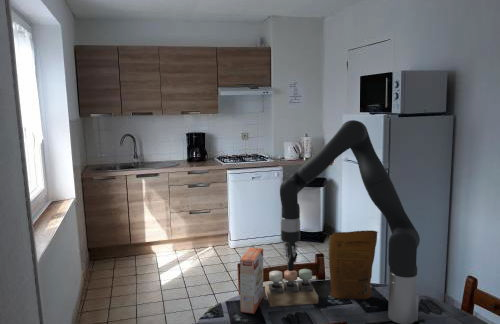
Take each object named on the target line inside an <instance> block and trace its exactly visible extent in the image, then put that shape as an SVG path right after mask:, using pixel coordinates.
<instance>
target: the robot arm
mask: <svg viewBox="0 0 500 324" xmlns="http://www.w3.org/2000/svg"><path fill="white" fill-rule="evenodd" d="M348 150H351V152H352V154H353V155H354V158H355V159H356V161H357V165H358V169H359V174H360V176H361V181H362V183H363V186H364V188H365V190H366V192H367V195H368V197H369V198H370V200H371V201H372V203H373V204H374V205H375V207H377V209H378V211H380V212H381V214H382V215H383V216H384V218H385V219H386V221H387V224H388V227H389V228H390V231H391V235H390V237H389V239H388V260H387V261H388V266H389V270H388V271H389V275H388V278H389V279H388V302H387V303H388V306H387V307H388V308H387V317H388V319H389V320H390V321H392V322H394V323H397V324H413V323H415V322H418V321H419V319H418V317H419V303H420V302H419V300H420V296H419V295H418V293H417V292H418V291H417V290H418V289H417V288H418V266H417V254H418V252H417V251H418V247H419V245H420V241H421V239H420V235H419V232H418V231H417V229H416V228H415V226H414V224H413V223H412V221H411V219H410V218H409V216H408V215H407V213H406V211H405V209H404V207H403V205H402V201H401V199H400V197H399V195H398V193H397V190H396V188H395V186H394V184H393V181H392V179H391V178H390V177H391V176H390V175H389V173H388V171H387V170H386V168H385V166H384V164H383V162H382V161H381V159H380V157H379V156H378V155H377V153H376V150H375V149H374V145H373V144H372V140H371V138H370V135H369V132H368V128H367V126H366V125H365V124H364V122H361V121H359V120H354V119H353V120H347V121H345V122H344V123H343V124H342V126H341V127H340V128H339V129H338V131H337V132H336V133H335V134H334V136H333V137H332V138H331V139H329V141H328V142H327V143H326V144H325V145H323V147H322V148H320V150H318V151H317V152H315V154H313V155H312V156H311V157H310V158H309V159H307V160H306V161H305V162H304V163H303V164H302V165H301V166H300V167H299V168H298V169H297V170H296V171H295V172H294V173H292V174H291V175H290V176H289V177H287V178H286V179H285V180H283V181H282V182H281V184H280V186H279V198H280V204H281V220H280V221H281V222H280V233H281V234H280V239H281V240H282V242H285V243H284V248H285V249H284V251H285V257H286V260H287V270H289V271H294V270H295V267H294V266H295V263H296V261H297V257H298V252H297V248H298V247H297V245H296V243H297V242H300V240H301V218H300V217H301V215H300V213H301V209H300V204H299V200H298V194H299V192H301V191H302V190H303V189H304V188H305V187H306V186H307V185H308V184H309V183H311V182H313V181H314V180H315V179H316V178H317V177H319V176H320V175H321V174H323V173H324V171H325V170H326V169H328V168H329V166H331V164H332V163H333V162H334V161H335V160H336V159H337V158H338V157H339V156H341V155H343V153H345V152H347V151H348Z"/></svg>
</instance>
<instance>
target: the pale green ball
mask: <svg viewBox="0 0 500 324" xmlns="http://www.w3.org/2000/svg"><path fill="white" fill-rule="evenodd" d="M312 278H313V271H312V270H311V269H310V268H309V269H308V268H302V269H299V270H298V279H300V280H302V281H303V284H308V281H310V280H312Z"/></svg>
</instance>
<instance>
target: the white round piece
mask: <svg viewBox="0 0 500 324" xmlns="http://www.w3.org/2000/svg"><path fill="white" fill-rule="evenodd" d="M268 274H269V281H270V282H272V283H273V285H274V286H278V285H279V283H281V282H282V281H283V276H284V275H283V274H284V272H282V271H280V270H272V271H269V273H268Z"/></svg>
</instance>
